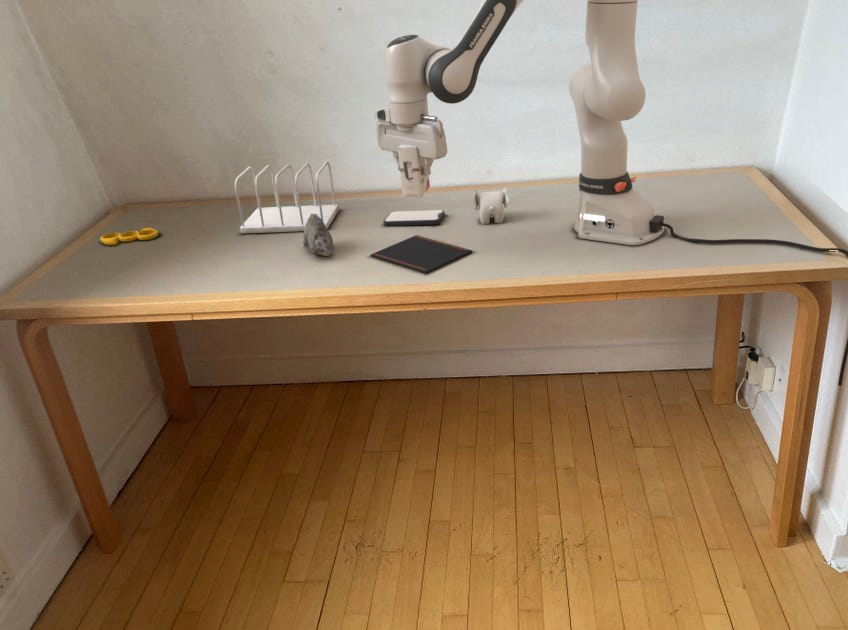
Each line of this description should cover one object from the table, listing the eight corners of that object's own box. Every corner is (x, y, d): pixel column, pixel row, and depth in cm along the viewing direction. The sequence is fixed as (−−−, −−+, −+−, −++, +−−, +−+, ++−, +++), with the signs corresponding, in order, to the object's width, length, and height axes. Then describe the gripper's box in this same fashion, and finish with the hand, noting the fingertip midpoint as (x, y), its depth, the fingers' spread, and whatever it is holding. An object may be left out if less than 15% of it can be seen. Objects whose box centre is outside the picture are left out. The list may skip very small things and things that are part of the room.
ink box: (410, 186, 190) (406, 137, 184) (430, 187, 189) (427, 137, 183) (400, 197, 183) (397, 147, 177) (421, 198, 181) (418, 147, 176)
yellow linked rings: (152, 242, 219) (163, 230, 228) (151, 237, 218) (162, 225, 227) (95, 247, 220) (108, 235, 228) (94, 242, 219) (106, 230, 228)
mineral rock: (328, 262, 194) (322, 224, 189) (289, 262, 196) (282, 224, 191) (345, 244, 204) (340, 207, 199) (308, 243, 207) (301, 207, 202)
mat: (472, 252, 191) (472, 250, 191) (426, 274, 182) (426, 271, 181) (416, 237, 204) (416, 234, 204) (370, 256, 195) (370, 254, 194)
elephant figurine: (507, 210, 216) (506, 179, 212) (510, 225, 206) (509, 192, 201) (473, 213, 217) (471, 182, 212) (474, 228, 206) (472, 195, 202)
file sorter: (240, 234, 218) (228, 180, 211) (258, 214, 233) (248, 163, 226) (326, 230, 215) (317, 175, 207) (339, 210, 230) (331, 158, 222)
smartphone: (383, 227, 214) (439, 225, 210) (382, 221, 213) (438, 220, 209) (391, 216, 222) (445, 214, 218) (390, 211, 221) (445, 209, 217)
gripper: (451, 114, 172) (455, 175, 178) (389, 106, 185) (395, 163, 192) (431, 120, 168) (435, 182, 175) (369, 111, 181) (376, 170, 188)
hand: (414, 172), depth 183 cm, fingers closed on ink box, 7 cm apart
